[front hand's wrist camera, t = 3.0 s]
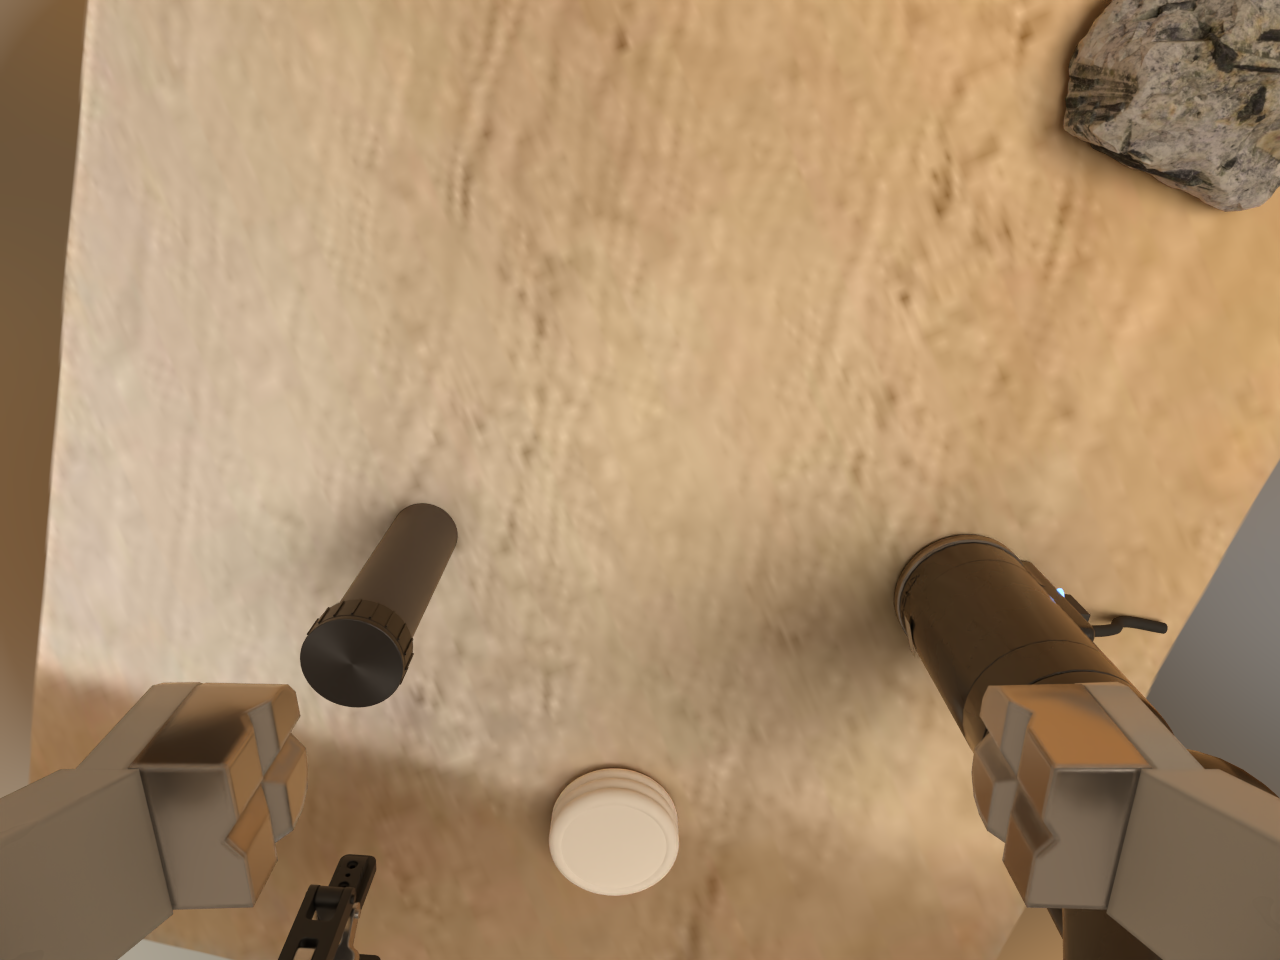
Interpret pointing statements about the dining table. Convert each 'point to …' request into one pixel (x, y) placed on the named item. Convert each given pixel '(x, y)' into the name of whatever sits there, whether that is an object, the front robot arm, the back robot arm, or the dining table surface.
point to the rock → (1184, 95)
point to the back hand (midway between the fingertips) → (363, 909)
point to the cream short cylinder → (614, 832)
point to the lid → (357, 653)
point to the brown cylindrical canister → (408, 563)
